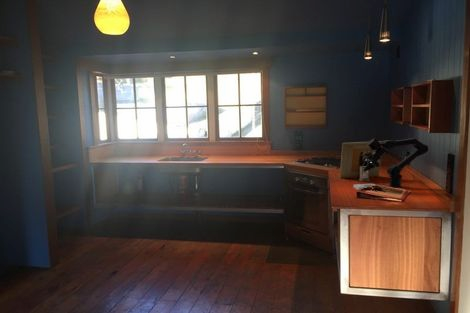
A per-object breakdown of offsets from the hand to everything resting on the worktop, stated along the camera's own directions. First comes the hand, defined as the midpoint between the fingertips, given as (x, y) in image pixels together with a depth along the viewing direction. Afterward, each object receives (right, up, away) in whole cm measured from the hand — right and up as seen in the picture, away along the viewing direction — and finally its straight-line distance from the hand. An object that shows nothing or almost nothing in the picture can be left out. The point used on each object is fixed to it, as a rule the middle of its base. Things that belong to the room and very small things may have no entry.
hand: (362, 170), depth 265 cm
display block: (+2, -13, 0) cm, 13 cm away
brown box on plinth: (+2, -7, +1) cm, 7 cm away
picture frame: (+13, -8, +41) cm, 44 cm away
